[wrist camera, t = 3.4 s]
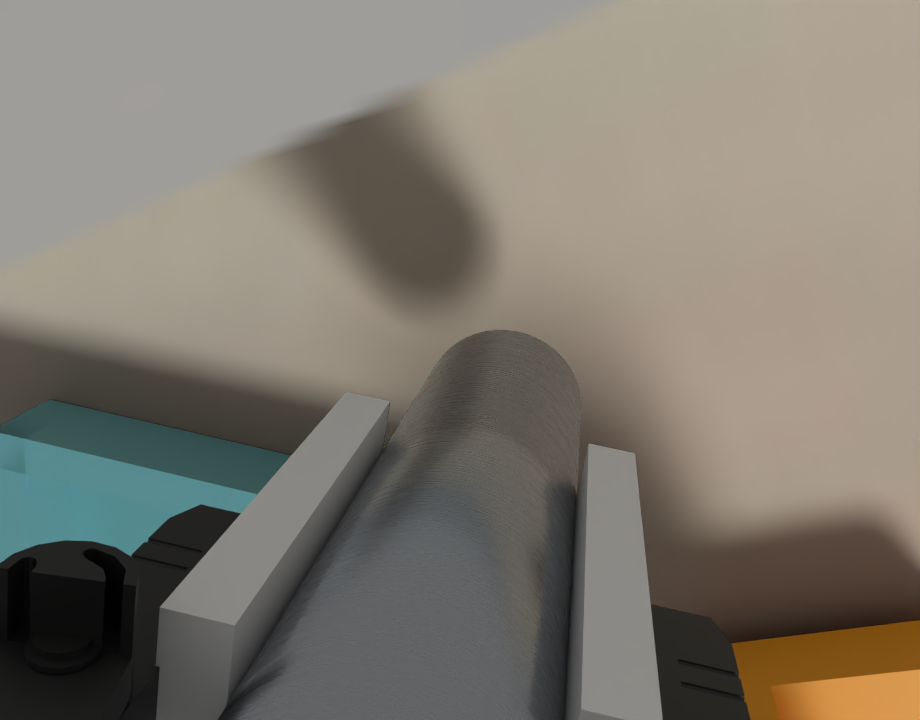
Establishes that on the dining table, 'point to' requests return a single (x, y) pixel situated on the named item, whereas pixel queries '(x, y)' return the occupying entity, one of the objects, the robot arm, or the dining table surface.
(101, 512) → the tray
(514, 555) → the pin
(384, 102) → the dining table surface
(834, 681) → the bracket
